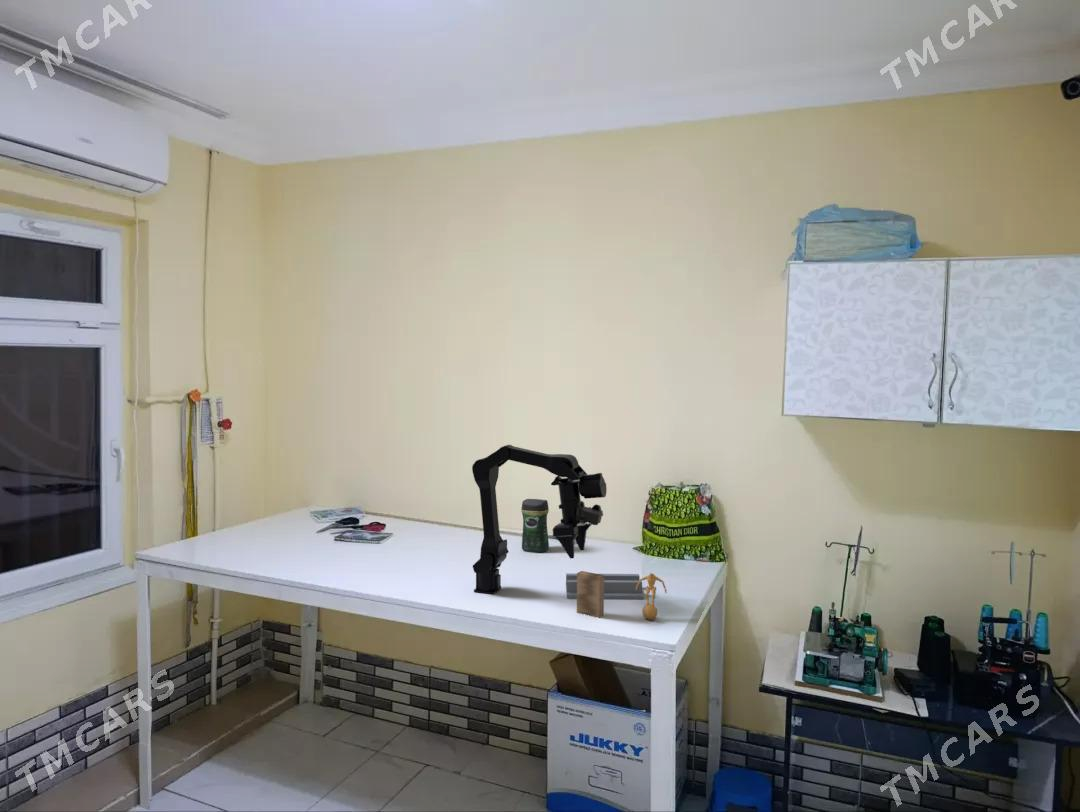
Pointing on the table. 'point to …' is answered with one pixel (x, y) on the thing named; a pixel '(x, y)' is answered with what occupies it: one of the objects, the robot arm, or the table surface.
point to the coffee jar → (535, 525)
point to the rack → (610, 586)
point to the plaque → (590, 594)
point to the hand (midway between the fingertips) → (577, 554)
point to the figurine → (650, 609)
